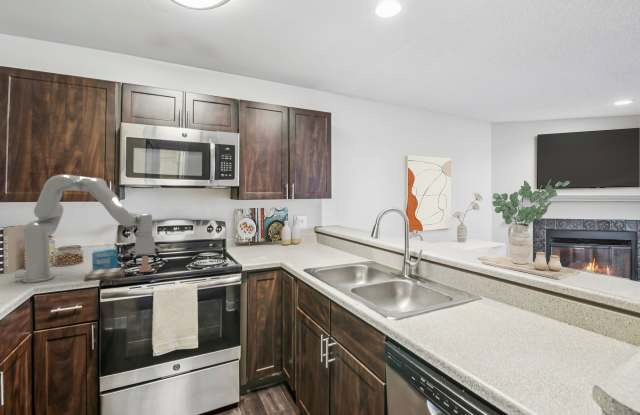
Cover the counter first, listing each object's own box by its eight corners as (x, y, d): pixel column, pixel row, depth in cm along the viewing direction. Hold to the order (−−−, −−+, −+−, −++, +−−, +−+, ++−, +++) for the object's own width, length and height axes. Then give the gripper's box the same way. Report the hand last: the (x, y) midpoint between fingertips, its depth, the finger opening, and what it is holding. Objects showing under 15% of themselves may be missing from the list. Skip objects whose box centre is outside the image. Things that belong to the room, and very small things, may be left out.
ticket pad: (84, 281, 164) (84, 274, 163) (86, 276, 172) (86, 270, 172) (124, 277, 173) (124, 270, 173) (124, 273, 182) (124, 266, 181)
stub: (139, 272, 177) (139, 259, 177) (138, 268, 185) (138, 256, 185) (151, 271, 180) (151, 258, 180) (150, 267, 188) (150, 255, 188)
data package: (95, 272, 182) (94, 252, 181) (92, 271, 185) (92, 251, 184) (118, 268, 192) (117, 249, 191) (115, 267, 194) (114, 248, 194)
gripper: (127, 236, 174) (127, 266, 175) (161, 234, 183) (162, 263, 184) (127, 234, 180) (127, 263, 181) (160, 233, 189) (160, 260, 190)
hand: (145, 263), depth 183 cm, fingers open, 9 cm apart
